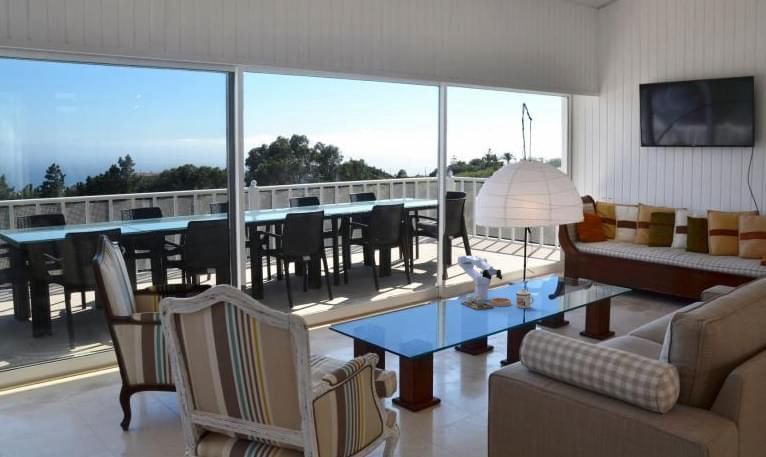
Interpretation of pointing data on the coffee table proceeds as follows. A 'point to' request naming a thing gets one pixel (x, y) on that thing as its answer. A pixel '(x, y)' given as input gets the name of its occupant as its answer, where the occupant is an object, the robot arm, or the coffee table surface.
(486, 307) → the tray
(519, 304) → the teacup with lid
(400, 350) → the coffee table surface
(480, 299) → the grey rounded cylinder
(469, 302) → the light stone
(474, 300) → the light stone
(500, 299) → the bowl
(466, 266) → the robot arm
